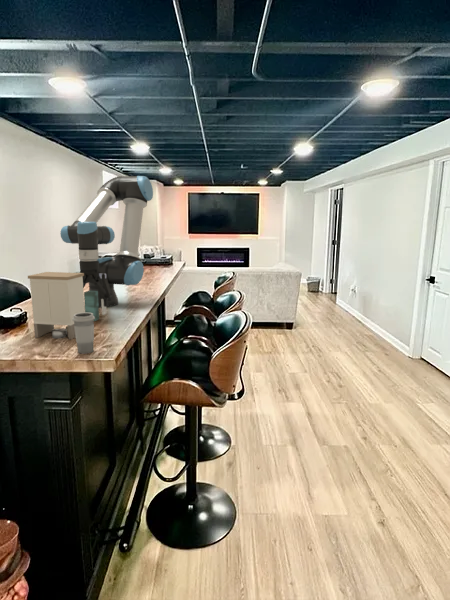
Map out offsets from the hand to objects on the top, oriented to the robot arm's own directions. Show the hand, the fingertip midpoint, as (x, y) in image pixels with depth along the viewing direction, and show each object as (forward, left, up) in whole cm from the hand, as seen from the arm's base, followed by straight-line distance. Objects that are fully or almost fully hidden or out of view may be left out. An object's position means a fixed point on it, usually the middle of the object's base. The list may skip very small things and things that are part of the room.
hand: (92, 313), depth 162 cm
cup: (+38, +17, -3) cm, 42 cm away
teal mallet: (+8, 0, -3) cm, 8 cm away
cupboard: (+22, -1, -3) cm, 22 cm away
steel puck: (+24, 0, -3) cm, 25 cm away
